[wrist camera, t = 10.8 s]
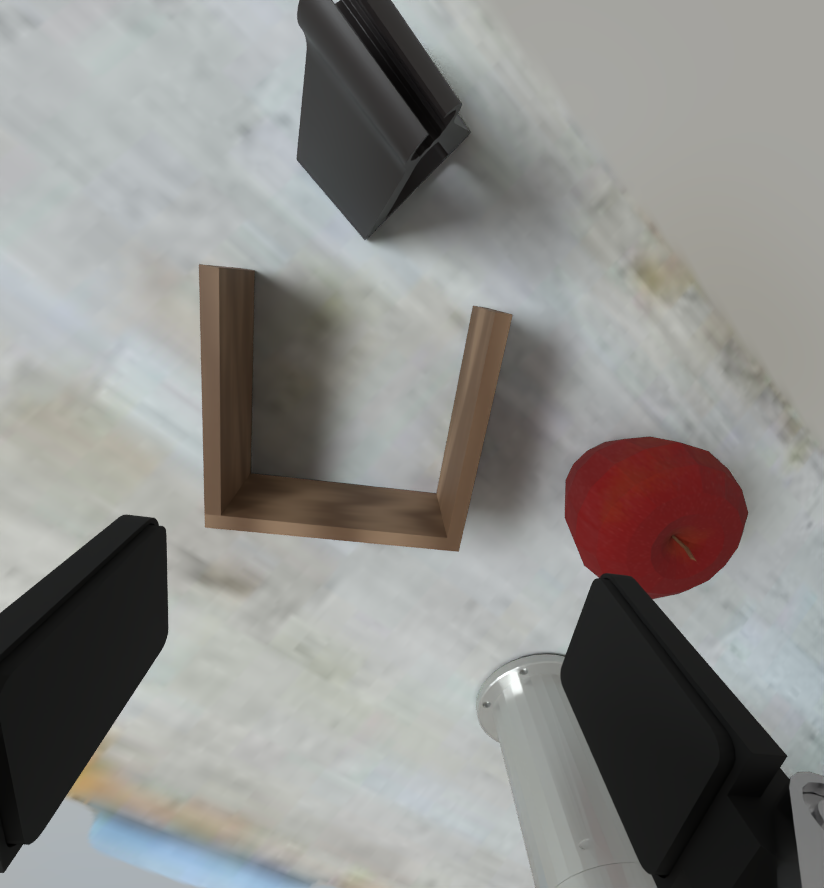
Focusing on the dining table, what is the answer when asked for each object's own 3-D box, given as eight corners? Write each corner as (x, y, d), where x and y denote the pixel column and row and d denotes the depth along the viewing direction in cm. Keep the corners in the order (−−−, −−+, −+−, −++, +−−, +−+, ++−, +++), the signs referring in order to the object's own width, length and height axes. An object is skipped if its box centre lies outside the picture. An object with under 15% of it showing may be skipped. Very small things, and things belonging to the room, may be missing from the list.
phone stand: (405, 40, 24) (422, -166, 13) (470, 135, 26) (533, 25, 15) (297, 160, 26) (230, 69, 15) (364, 241, 28) (350, 214, 17)
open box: (486, 308, 30) (512, 314, 24) (446, 505, 35) (458, 551, 29) (239, 268, 28) (198, 264, 22) (237, 483, 33) (205, 527, 27)
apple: (595, 550, 38) (679, 658, 27) (511, 486, 35) (567, 578, 24) (692, 461, 35) (828, 542, 24) (608, 384, 32) (722, 436, 21)
